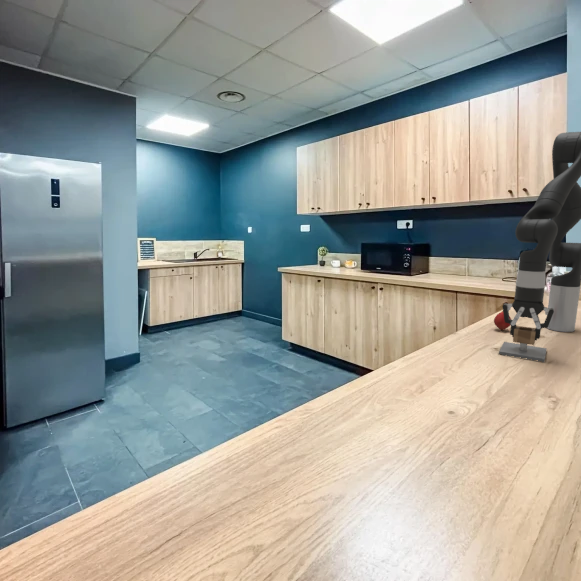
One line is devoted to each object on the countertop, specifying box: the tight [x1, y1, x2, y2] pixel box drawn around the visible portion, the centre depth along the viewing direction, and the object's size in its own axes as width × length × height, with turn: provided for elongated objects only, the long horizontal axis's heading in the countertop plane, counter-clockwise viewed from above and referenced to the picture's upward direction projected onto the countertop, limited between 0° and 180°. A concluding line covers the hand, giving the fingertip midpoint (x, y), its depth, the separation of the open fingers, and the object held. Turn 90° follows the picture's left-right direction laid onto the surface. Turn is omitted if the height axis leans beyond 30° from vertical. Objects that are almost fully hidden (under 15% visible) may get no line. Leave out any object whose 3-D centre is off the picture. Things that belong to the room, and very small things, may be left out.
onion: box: [493, 310, 512, 331], centre depth 145 cm, size 6×6×8 cm
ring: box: [512, 325, 536, 346], centre depth 119 cm, size 6×6×4 cm
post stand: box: [498, 341, 547, 363], centre depth 120 cm, size 12×12×7 cm
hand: (524, 337), depth 120 cm, fingers closed on ring, 5 cm apart
